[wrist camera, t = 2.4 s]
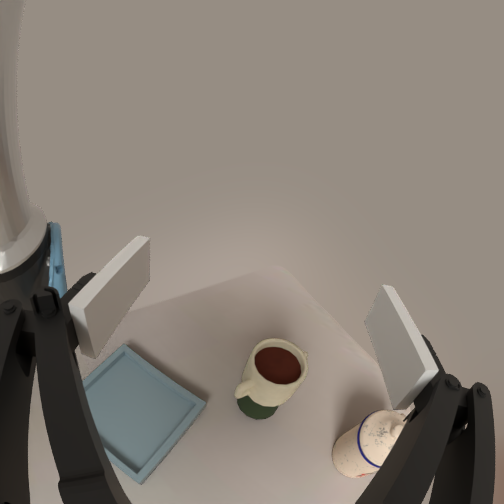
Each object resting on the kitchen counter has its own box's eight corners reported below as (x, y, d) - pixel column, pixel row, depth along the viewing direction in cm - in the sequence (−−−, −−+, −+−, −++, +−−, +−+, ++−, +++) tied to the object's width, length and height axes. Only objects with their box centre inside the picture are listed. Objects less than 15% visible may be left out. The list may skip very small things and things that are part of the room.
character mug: (272, 371, 44) (296, 324, 36) (297, 404, 39) (331, 363, 32) (214, 398, 38) (223, 356, 30) (239, 436, 33) (258, 406, 26)
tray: (60, 410, 29) (55, 405, 28) (125, 349, 41) (123, 343, 40) (141, 484, 24) (139, 483, 23) (205, 406, 36) (206, 402, 35)
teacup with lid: (352, 490, 27) (400, 475, 20) (318, 451, 33) (356, 427, 26) (398, 444, 34) (443, 417, 27) (367, 411, 39) (407, 378, 32)
